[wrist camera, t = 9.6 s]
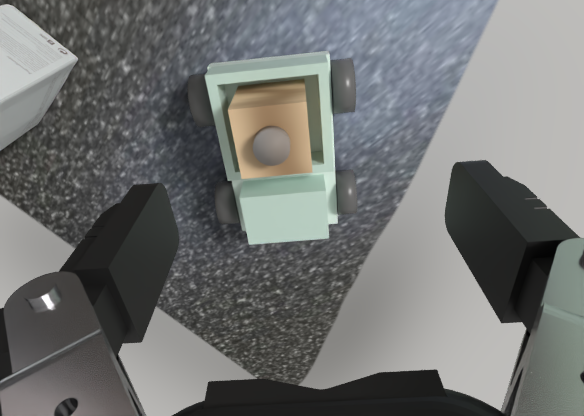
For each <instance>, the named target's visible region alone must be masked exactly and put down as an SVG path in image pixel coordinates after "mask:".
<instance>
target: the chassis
mask: <svg viewBox="0 0 584 416" xmlns="http://www.w3.org/2000/svg"><path fill="white" fill-rule="evenodd" d="M207 69H208V72H207V73H206V74H198V75H191V76H190V77H189V79H188V100H189V106H190V110H191V114H192V117H193V119H194V122H195V123H196V125H197V126H198V127H206V126H216V130H217V134H218V139H219V143H220V148H221V152H222V157H223V161H224V166H225V170H226V175H227V179H228V181H220V182H217V183H216V187H215V207H216V213H217V217H218V220H219V222H220V223H221V224H233V223H240V222H241V227H242V231H246V232H247V237H248V242H249V245H251V244H264V243H276V242H289V241H301V240H314V239H326V238H329V230H328V224H336V223H338V220H337V212H338V215H341V214H353V213H357V191H356V181H355V175H354V171H353V170H342V171H335V156H334V134H333V114H338V113H348V112H354V111H355V105H356V84H355V72H354V65H353V60H352V58H348V59H339V60H330V53H329V51H322V52H313V53H304V54H294V55H285V56H276V57H267V58H257V59H248V60H239V61H230V62H220V63H211V64H209V66H208V67H207ZM298 79H304V80H305V91H306V102H307V113H308V125H309V137H310V148H311V160H312V171H313V173H303V174H292V175H281V176H270V177H259V178H249V179H242V178H241V173H240V168H239V163H238V158H237V153H236V148H235V143H234V138H233V134H232V129H231V124H230V119H229V114H228V108H229V106H230V104H231V101H232V99H233V97H234V95H235V92H236V90H237V88H238V86H243V85H252V84H261V83H270V82H280V81H289V80H298ZM332 111H333V113H332Z"/></svg>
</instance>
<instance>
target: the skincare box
mask: <svg viewBox="0 0 584 416" xmlns="http://www.w3.org/2000/svg"><path fill="white" fill-rule="evenodd" d="M77 61H78V58H77V57H76V56H75V55H74V54H72V53H71V52H70V51H69V50H67V49H66V48H65V47H63V46H62V45H61V44H60V43H58V42H57V41H56V40H55V39H53V38H52V37H51V36H50V35H48V34H47V33H46V32H45V31H43V30H42V29H41V28H40V27H39V26H38V25H36V24H35V23H34V22H33V21H31V20H30V19H29V18H27V17H26V16H25V15H24V14H23V13H21V12H20V11H19V10H18V9H16V8H15V7H14V6H12V5H8V4H6V5H1V6H0V151H1V150H2V149H3V148H5V147H6V146H8V145H9V144H10V143H12V142H13V141H15V140H16V139H17V138H19V137H20V136H22V135H23V134H24V133H26V132H27V131H29V130H30V129H31V128H33V127H34V126H36V125H38V123H39V122H40V121H41V119H42V118H43V116H44V115H45V113H46V111H47V110H48V108H49V107H50V105H51V104H52V102H53V101H54V99H55V97H56V96H57V94H58V92H59V91H60V89H61V88H62V86H63V84H64V83H65V81H66V79H67V77H68V75H69V73H70V71H71V70H72V68H73V67H74V65H75V64H76V63H77Z"/></svg>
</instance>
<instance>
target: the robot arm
mask: <svg viewBox="0 0 584 416" xmlns="http://www.w3.org/2000/svg"><path fill="white" fill-rule="evenodd" d="M445 223H446V228H447V231H448V233H449V234H450V236H451V238H452V240H453V242H454V243H455V245H456V247H457V248H458V250H459V252H460V253H461V255H462V257H463V259H464V260H465V262H466V264H467V265H468V267H469V269H470V270H471V272H472V274H473V275H474V277H475V279H476V281H477V282H478V284H479V286H480V287H481V289H482V291H483V293H484V294H485V296H486V298H487V299H488V301H489V303H490V305H491V306H492V308H493V310H494V311H495V313H496V315H497V316H498V318H499V320H500V321H501V323H513V322H523V324H524V325H525V327H526V328H527V329H526V331H525V334H524V337H523V340H522V343H521V346H520V349H519V353H518V356H517V359H516V363H515V366H514V369H513V373H512V376H511V379H510V383H509V387H508V390H507V393H506V396H505V399H504V403H503V405H502V408H501V411H499V410H498V409H496V408H494V407H492V406H490V405H488V404H486V403H485V402H483V401H481V400H478V399H476V398H473V397H471V396H468V395H466V394H463V393H460V392H456V391H453V390H449V389H444V388H443V385H442V382H441V379H440V377H439V374H438V371H437V370H420V371H400V372H381V373H377V374H374V375H370V376H367V377H364V378H361V379H358V380H354V381H351V382H348V383H345V384H341V385H338V386H335V387H332V388H328V389H323V390H319V389H313V388H308V387H303V386H298V385H293V384H288V383H283V382H278V381H273V380H268V379H249V380H231V381H211V382H208V386H207V391H206V397H205V401H202V402H199V403H196V404H194V405H192V406H189V407H187V408H185V409H183V410H181V411H179V412H178V413H176V414H174V415H172V416H584V238H580V237H579V236H578V235H577V234H576V233H575V232H574V231H572V230H571V229H570V228H569V227H568V226H567V225H566V224H565V223H564V222H563V221H562V220H561V219H560V218H559V217H558V216H557V215H555V213H554V212H553V211H551V210H550V209H547V206H546V205H545V204H544V203H543V202H542V201H541V200H540V199H537V196H536V195H535V194H533V192H531V191H530V190H529V189H528V188H527V187H526V186H525V185H523V184H521V183H519V182H517V181H515V180H513V179H511V178H509V177H503V176H502V175H501V174H500V173H499V172H498V171H497V170H496V169H495V168H494V167H493V166H492V165H491V164H490V163H489V162H488V161H486V160H482V161H467V162H457V163H455V164H454V166H453V169H452V173H451V179H450V185H449V190H448V196H447V202H446V208H445ZM178 245H179V234H178V228H177V225H176V221H175V218H174V215H173V211H172V208H171V204H170V201H169V198H168V194H167V191H166V189H165V187H164V185H163V184H162V183H154V184H140V185H133V186H132V187H131V189H130V190H129V191H128V193H127V194H126V196H125V197H124V199H123V200H122V201H121V203H117V204H115V205H114V206H112V207H111V208H109V209H108V210H107V211H105V212H104V213H102V214H101V215H100V217H99V218H98V219H97V221H96V222H95V223H94V225H93V226H92V229H90V230H89V231H88V233H87V234H86V235H85V239H83V240H82V241H81V242H80V244H79V245H78V246H77V248H76V249H75V250H74V252H73V253H72V254H71V256H70V257H69V258H68V260H67V261H66V263H65V264H64V265H63V266H62V268H61V269H60V271H59V272H53V273H49V274H45V275H42V276H40V277H37V278H35V279H33V280H31V281H29V282H28V283H26V284H24V285H23V286H21V287H20V288H19V289H18V290H16V291H15V292H14V293H13V294H12V295H11V296H10V298H9V299H8V300H7V302H6V304H5V306H4V308H1V309H0V416H146V414H145V412H144V409H143V407H142V405H141V403H140V401H139V398H138V396H137V394H136V392H135V390H134V387H133V385H132V383H131V381H130V378H129V376H128V374H127V372H126V370H125V367H124V365H123V363H122V361H121V359H120V357H119V355H118V353H119V351H120V348H121V346H122V344H123V343H137V342H138V343H139V342H142V340H143V337H144V335H145V332H146V330H147V327H148V325H149V322H150V320H151V317H152V314H153V312H154V309H155V307H156V304H157V301H158V299H159V296H160V294H161V291H162V289H163V286H164V283H165V281H166V278H167V276H168V273H169V270H170V268H171V265H172V263H173V260H174V258H175V255H176V252H177V250H178Z"/></svg>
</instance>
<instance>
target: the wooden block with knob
mask: <svg viewBox="0 0 584 416" xmlns="http://www.w3.org/2000/svg"><path fill="white" fill-rule="evenodd" d="M228 114H229V119H230V124H231V129H232V134H233V138H234V143H235V148H236V153H237V158H238V163H239V168H240V173H241V178H242V179H249V178H259V177H270V176H281V175H292V174H303V173H313V171H312V160H311V148H310V137H309V125H308V113H307V102H306V91H305V80H304V79H298V80H289V81H280V82H270V83H261V84H252V85H243V86H238V88H237V90H236V92H235V95H234V97H233V99H232V101H231V104H230V106H229V108H228Z"/></svg>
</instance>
